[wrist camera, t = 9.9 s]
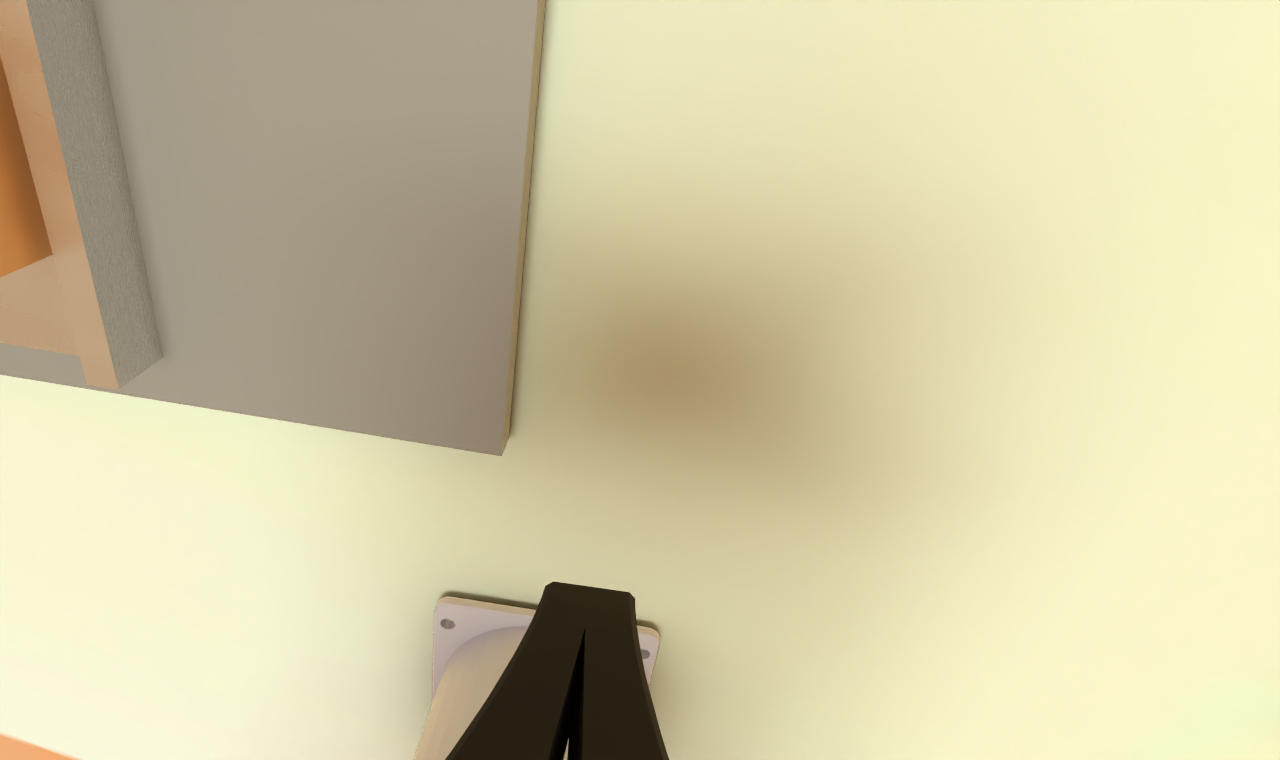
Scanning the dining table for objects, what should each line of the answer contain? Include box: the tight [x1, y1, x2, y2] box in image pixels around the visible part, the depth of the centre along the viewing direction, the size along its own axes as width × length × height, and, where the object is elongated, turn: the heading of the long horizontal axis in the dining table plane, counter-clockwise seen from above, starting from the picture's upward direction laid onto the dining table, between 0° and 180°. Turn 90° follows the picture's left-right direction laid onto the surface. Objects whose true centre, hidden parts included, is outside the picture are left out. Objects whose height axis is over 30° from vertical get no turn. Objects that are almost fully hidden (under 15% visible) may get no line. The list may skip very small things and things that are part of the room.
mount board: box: [0, 0, 546, 456], centre depth 17 cm, size 14×18×1 cm
